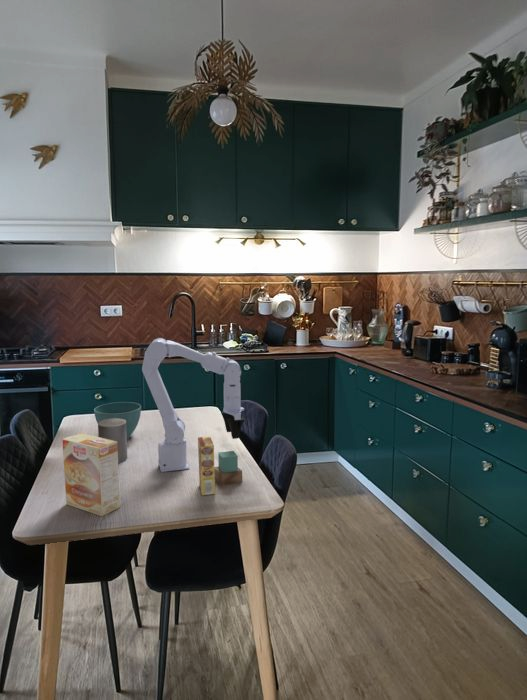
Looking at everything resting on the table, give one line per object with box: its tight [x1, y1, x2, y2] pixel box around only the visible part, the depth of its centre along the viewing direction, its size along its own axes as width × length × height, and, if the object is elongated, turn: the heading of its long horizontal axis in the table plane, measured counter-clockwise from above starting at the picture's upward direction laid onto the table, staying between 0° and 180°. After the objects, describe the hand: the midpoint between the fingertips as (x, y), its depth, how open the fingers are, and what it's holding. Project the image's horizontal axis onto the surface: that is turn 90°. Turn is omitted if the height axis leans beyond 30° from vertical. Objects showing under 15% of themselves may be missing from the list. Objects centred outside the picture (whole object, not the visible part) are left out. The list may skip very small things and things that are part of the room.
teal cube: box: [217, 450, 239, 473], centre depth 163 cm, size 5×5×5 cm
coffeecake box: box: [61, 432, 121, 517], centre depth 144 cm, size 15×7×20 cm, turn 58°
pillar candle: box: [97, 418, 128, 464], centre depth 182 cm, size 10×10×15 cm
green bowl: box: [93, 401, 142, 439], centre depth 207 cm, size 18×18×12 cm
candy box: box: [197, 436, 216, 496], centre depth 156 cm, size 9×4×15 cm, turn 13°
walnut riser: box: [214, 465, 243, 487], centre depth 164 cm, size 7×7×4 cm
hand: (232, 434), depth 176 cm, fingers open, 7 cm apart
